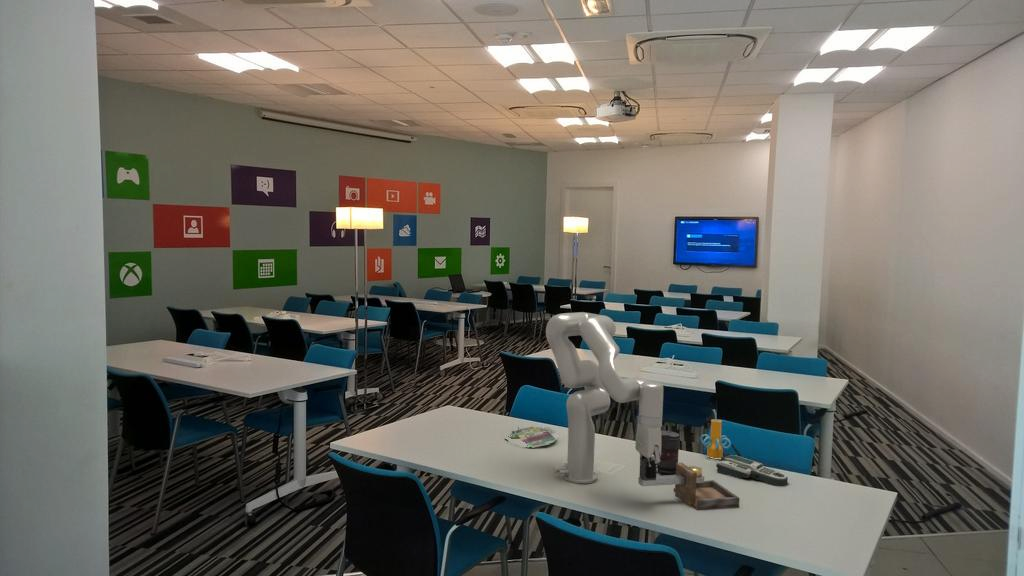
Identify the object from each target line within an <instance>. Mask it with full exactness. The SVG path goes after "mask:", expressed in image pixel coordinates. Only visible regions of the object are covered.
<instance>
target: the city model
mask: <svg viewBox="0 0 1024 576" xmlns="http://www.w3.org/2000/svg"><path fill="white" fill-rule="evenodd" d="M509 434H510V437H509V436H508V435H507V436H508V437H509V438H511V439H520V440H521V441H523V442H525V443H526V444H528V445H529V446H530V447H532V448H531V449H533V448H538V447H542V446H547V445H551V444H553V443H554V442H556V440H557V439H559V435H560V434H559V432H558V431H557V430H555V429H553V428H550V427H546V426H545V427H543V426H539V427H538V426H529V427H524V428H519V426H517V429H516V430H512V431H511V433H509ZM511 435H512V436H511ZM528 445H527V446H528Z"/></svg>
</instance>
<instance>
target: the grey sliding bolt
mask: <svg viewBox="0 0 1024 576" xmlns="http://www.w3.org/2000/svg"><path fill="white" fill-rule="evenodd" d="M652 460H654V459H651V461H652ZM647 466H648V458H640V457H639V476H638V484H639V485H640V486H641V487H650V486H651V487H653V486H656V487H657V486H669V485H670V486H672V485H674V486H675V484H686V477H685V476H684V475H676V474H675V475H666V476H665V475H656V478H652V479H647V478H646V472H647ZM656 471H658V469H657V468H656ZM704 481H705V476H704V475H703V474H702V477H700V478H696V483H704Z"/></svg>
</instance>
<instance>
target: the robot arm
mask: <svg viewBox="0 0 1024 576" xmlns="http://www.w3.org/2000/svg"><path fill="white" fill-rule="evenodd" d="M545 327H546V328H545V336H546V339H547V342H548V345H549V347H550V349H551V351H552V354H553V357H554V360H555V363H556V366H557V370H558V371H559V376H560V378H561V381H562V383H563V386H565V387H566V388H569V389H577V388H583V387H584V389H582V390H577V391H575V392H573V393H571V394H570V395H568V397H567V400H566V412H567V413H566V414H567V423H568V425H567V427H568V429H567V430H568V431H567V432H568V433H567V434H568V435H567V458H566V459H567V460H566V461H567V462H566V463H564V465H563V466H554V468H553V472H554V473H555V474H556V473H558V474H559V475H562V478H563V480H565V481H567V482H569V483H574V484H584V485H585V484H592V483H594V482H597V481H598V478H599V476H598V474H597V473H596V472H595V470H594V469H595V468H594V467H595V444H596V443H595V441H596V437H595V436H596V429H595V424H594V421H593V419H592V417H593V416H597V415H601V414H604V413H605V412H607V411H608V410H609V409H610V406H611V399H612V400H613V401H615V402H617V403H619V404H624V403H629V402H633V401H634V402H635V401H638V418H637V419H638V423H637V427H636V428H637V429H636V434H635V446H634V447H635V450H636V452H638V453H639V459H640V458H648V466H647V472H646V478H647V479H652V478H656V476H657V470H656V468H657V464H658V463H659V462H660V456H661V431H662V429H661V428H662V426H663V412H664V411H663V410H664V409H663V407H664V385H663V384H662V383H660V382H657V381H650V380H648V379H645V378H643V377H639V376H633V377H628V378H621V376H620V375H619V373H618V372H617V370H616V367H615V363H614V360H615V359H616V358H617V357H618V356H619V354H620V350H621V349H620V347H619V345H618V344H617V343H616V342H615V340H614V339H613V337H614V336H615V334H616V330H617V328H616V322H614V320H613V319H612V318H611V317H609V316H607V315H602V314H597V313H591V312H584V311H581V312H580V311H579V312H565V313H557V314H555V315H553V316H552V317H551V318H549V320H548V322H547V323H546V326H545ZM573 336H574V337H575V336H581V338H582V339H583V340H584V342H585V343H586V345H587V347H588V348H589V349H590V351H591V352H592V354H593V356H594V357H595V358H596V360H597V362H598V364H597V363H596V362H595V361H593V360H590V359H584V360H583V359H581V358H580V356H579V354H578V350H577V348H576V347H575V346H576V345H574V343H573V342H572V340H570V339H569V337H573ZM651 459H654V460H652V461H651Z"/></svg>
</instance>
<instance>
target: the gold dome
mask: <svg viewBox="0 0 1024 576" xmlns="http://www.w3.org/2000/svg"><path fill="white" fill-rule="evenodd" d="M688 467H689V468H690V469H692V470H693V471H695V472H696V473H697V478H700V477H702V475H703V468H702V467H700V466H695V465H690V466H688Z"/></svg>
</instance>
